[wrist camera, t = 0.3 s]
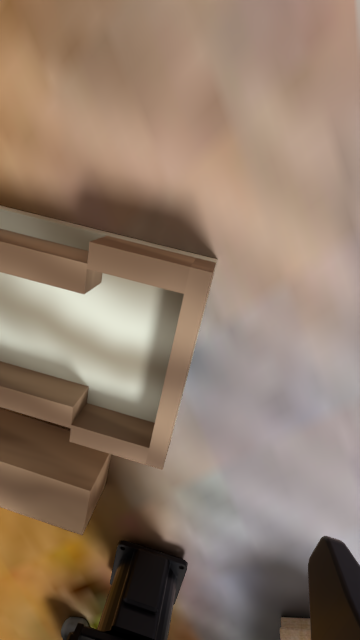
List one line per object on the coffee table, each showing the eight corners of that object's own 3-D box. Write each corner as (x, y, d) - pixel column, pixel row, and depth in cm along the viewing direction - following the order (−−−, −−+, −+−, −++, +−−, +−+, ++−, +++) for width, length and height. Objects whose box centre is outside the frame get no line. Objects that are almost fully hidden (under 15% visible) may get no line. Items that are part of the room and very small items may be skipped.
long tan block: (106, 483, 29) (78, 543, 25) (-39, 435, 30) (-93, 483, 25) (114, 442, 28) (86, 498, 23) (-40, 393, 29) (-100, 436, 24)
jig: (172, 434, 26) (162, 469, 23) (-107, 352, 28) (-153, 374, 25) (217, 259, 20) (212, 272, 17) (-135, 171, 22) (-198, 169, 19)
